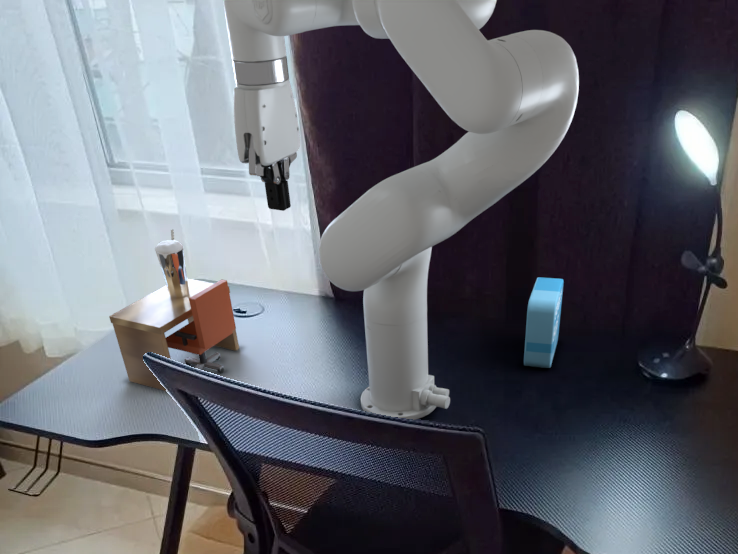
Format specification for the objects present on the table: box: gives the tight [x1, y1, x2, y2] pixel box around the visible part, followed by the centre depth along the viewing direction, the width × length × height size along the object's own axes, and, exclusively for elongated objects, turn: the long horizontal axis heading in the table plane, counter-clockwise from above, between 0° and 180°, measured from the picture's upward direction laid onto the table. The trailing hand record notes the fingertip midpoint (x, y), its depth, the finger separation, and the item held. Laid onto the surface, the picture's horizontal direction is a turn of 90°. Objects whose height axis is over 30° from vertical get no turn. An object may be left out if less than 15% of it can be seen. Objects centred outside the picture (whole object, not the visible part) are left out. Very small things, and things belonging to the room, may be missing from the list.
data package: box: [523, 276, 565, 369], centre depth 134 cm, size 12×4×12 cm, turn 164°
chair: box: [165, 279, 237, 374], centre depth 134 cm, size 9×9×15 cm
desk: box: [108, 277, 240, 392], centre depth 137 cm, size 11×18×12 cm, turn 152°
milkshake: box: [154, 228, 189, 298], centre depth 132 cm, size 4×5×10 cm
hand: (279, 207), depth 121 cm, fingers closed
